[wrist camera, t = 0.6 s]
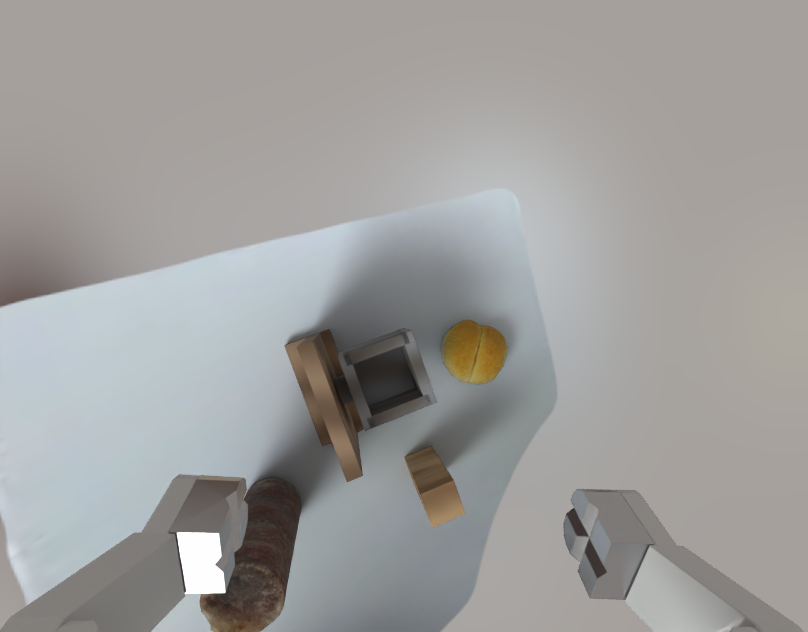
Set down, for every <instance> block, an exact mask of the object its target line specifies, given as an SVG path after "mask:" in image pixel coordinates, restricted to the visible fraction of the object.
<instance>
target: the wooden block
mask: <svg viewBox="0 0 808 632" xmlns="http://www.w3.org/2000/svg"><path fill="white" fill-rule="evenodd" d="M405 460H406V463H407V466H408V468H409V471H410V474H411V477H412V479H413V482H414V485H415V487H416V490H417V492H418V494H419V497H420V499H421V502H422V504H423V506H424V509H425V511H426V514H427V516H428V519H429V521H430V523H431V526H432V528H433V527H435V526H438V525H440V524H442V523H444V522H447V521H449V520H451V519H454V518H456V517H458V516H460V515H463V514H465V510H464V508H463V505H462V502H461V499H460V496H459V494H458V491H457V488H456V485H455V482H454V480H453V478H452V477H451V475H450V474H449V472H448V471H447V469H446V468H445V466H444V465H443V463H442V462H441V460H440V459H439V457H438V455H437V454H436V452H435V451H434V449H433V448H432V446H431V447H428V448H426V449H423V450H421V451H419V452H416V453H414V454H411V455H409V456H406V457H405Z"/></svg>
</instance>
